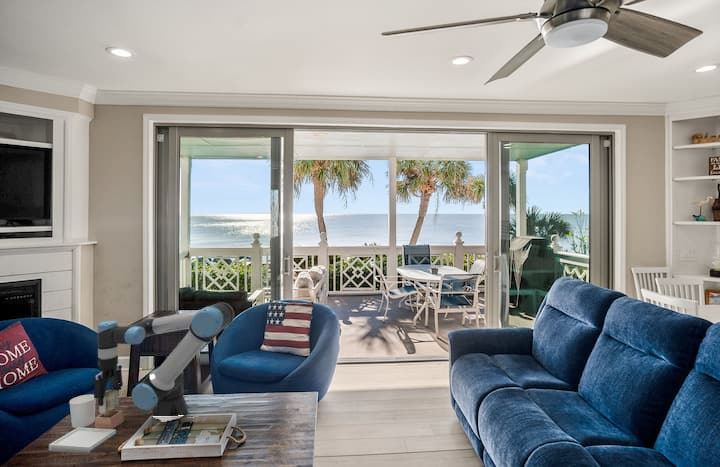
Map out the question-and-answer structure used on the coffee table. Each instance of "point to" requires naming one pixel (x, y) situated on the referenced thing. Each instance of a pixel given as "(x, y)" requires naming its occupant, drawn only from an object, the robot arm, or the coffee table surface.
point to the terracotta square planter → (109, 420)
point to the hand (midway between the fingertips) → (109, 408)
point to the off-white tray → (81, 440)
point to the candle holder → (82, 410)
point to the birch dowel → (109, 403)
